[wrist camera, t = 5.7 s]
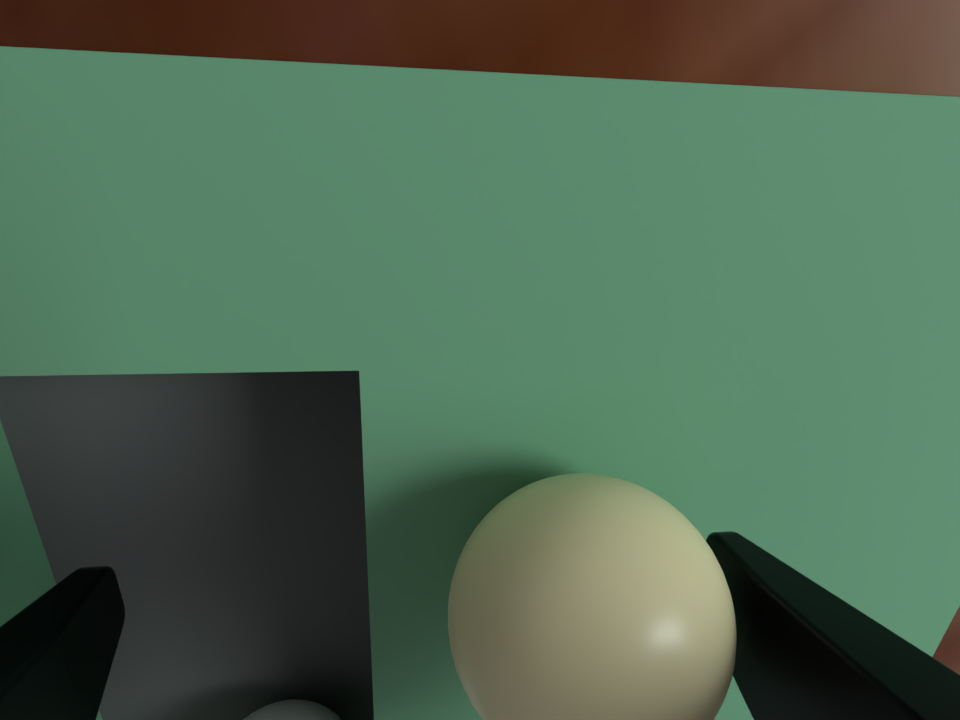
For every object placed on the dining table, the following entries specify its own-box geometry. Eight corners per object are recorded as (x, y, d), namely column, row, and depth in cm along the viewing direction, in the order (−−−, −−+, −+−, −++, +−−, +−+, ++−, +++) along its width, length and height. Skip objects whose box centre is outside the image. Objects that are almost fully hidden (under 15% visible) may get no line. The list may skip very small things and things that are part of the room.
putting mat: (983, 98, 12) (1223, 111, 9) (736, 761, 22) (803, 897, 18) (-192, 36, 9) (-545, 17, 6) (110, 832, 19) (45, 1010, 15)
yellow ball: (823, 659, 6) (419, 596, 6) (728, 882, 8) (417, 819, 8) (730, 440, 9) (476, 409, 10) (680, 623, 11) (466, 590, 12)
